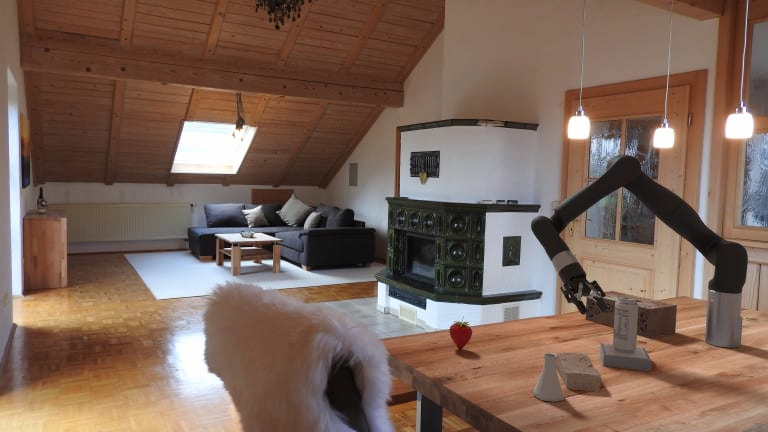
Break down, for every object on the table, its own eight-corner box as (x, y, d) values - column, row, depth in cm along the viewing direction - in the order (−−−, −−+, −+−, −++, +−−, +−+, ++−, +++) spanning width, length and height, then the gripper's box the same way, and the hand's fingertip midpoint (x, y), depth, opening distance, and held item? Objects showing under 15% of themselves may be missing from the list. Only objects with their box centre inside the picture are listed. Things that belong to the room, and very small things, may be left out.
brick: (601, 392, 130) (602, 373, 130) (565, 390, 132) (566, 371, 131) (586, 369, 147) (587, 352, 146) (554, 367, 148) (555, 350, 148)
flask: (528, 390, 130) (529, 350, 129) (557, 390, 131) (559, 350, 130) (539, 403, 123) (541, 360, 122) (569, 402, 123) (571, 360, 123)
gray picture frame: (644, 357, 157) (644, 347, 156) (650, 371, 145) (651, 359, 145) (600, 352, 160) (600, 342, 160) (603, 365, 149) (603, 354, 149)
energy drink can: (640, 353, 151) (643, 300, 150) (622, 354, 149) (624, 301, 148) (626, 346, 156) (628, 295, 156) (608, 347, 155) (610, 296, 154)
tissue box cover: (585, 320, 200) (586, 294, 199) (611, 316, 207) (612, 290, 206) (648, 339, 177) (649, 309, 176) (675, 333, 184) (676, 305, 183)
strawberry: (457, 344, 166) (458, 312, 166) (476, 350, 160) (477, 317, 160) (444, 347, 162) (445, 315, 162) (463, 354, 157) (464, 320, 156)
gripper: (558, 262, 165) (586, 307, 156) (591, 260, 172) (619, 303, 162) (545, 276, 170) (571, 320, 161) (577, 274, 177) (604, 316, 167)
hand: (595, 312), depth 161 cm, fingers open, 8 cm apart
